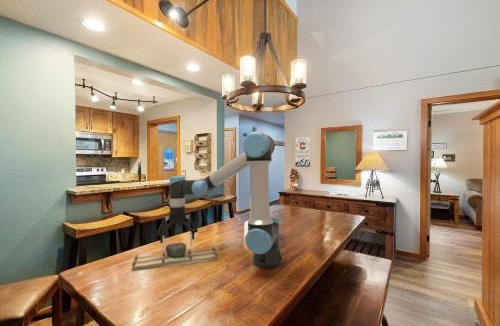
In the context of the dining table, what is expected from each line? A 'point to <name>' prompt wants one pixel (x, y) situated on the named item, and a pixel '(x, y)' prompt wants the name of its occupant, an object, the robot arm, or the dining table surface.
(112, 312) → the dining table surface
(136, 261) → the ledge
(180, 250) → the stone
